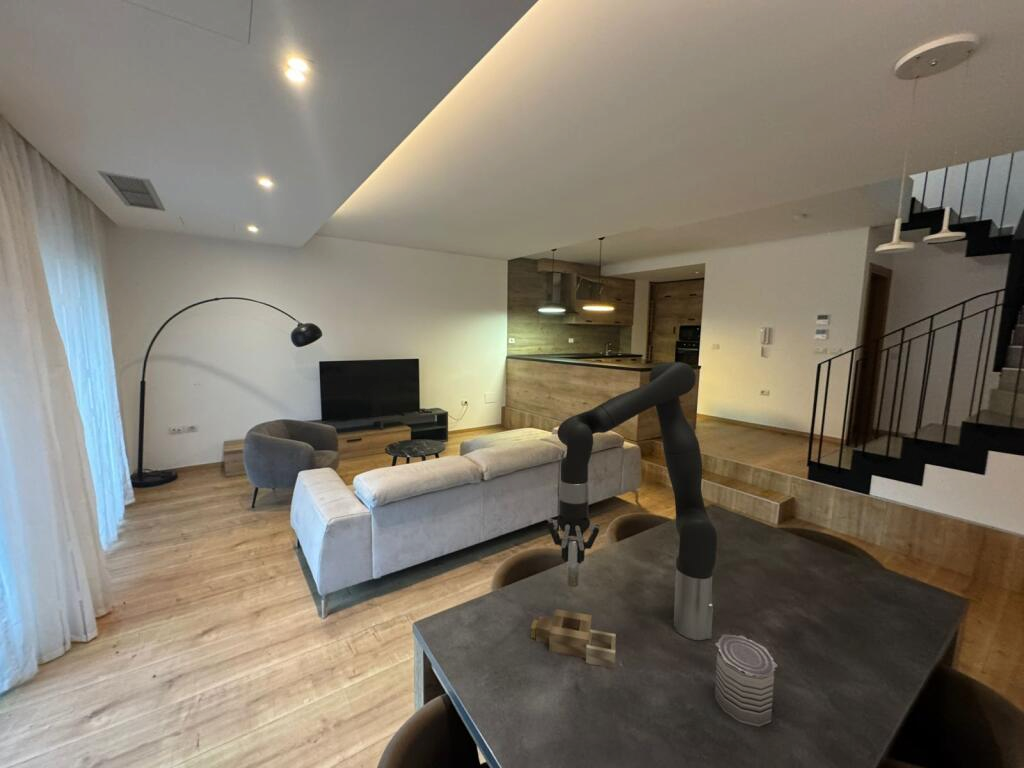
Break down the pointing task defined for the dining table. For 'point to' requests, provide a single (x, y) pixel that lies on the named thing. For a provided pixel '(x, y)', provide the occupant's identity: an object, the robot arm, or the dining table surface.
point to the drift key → (534, 628)
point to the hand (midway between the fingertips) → (572, 560)
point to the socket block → (565, 632)
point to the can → (744, 679)
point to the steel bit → (572, 562)
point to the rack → (601, 649)
